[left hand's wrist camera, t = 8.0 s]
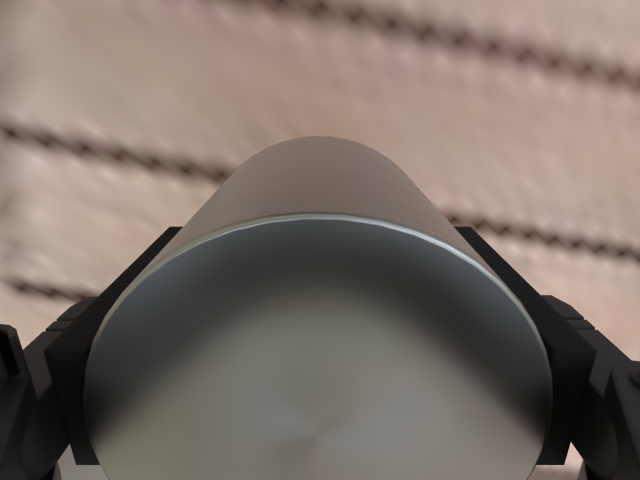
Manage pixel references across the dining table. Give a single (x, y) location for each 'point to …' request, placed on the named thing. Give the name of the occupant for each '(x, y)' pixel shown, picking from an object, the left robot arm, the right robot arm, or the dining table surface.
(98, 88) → the dining table surface
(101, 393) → the tin
